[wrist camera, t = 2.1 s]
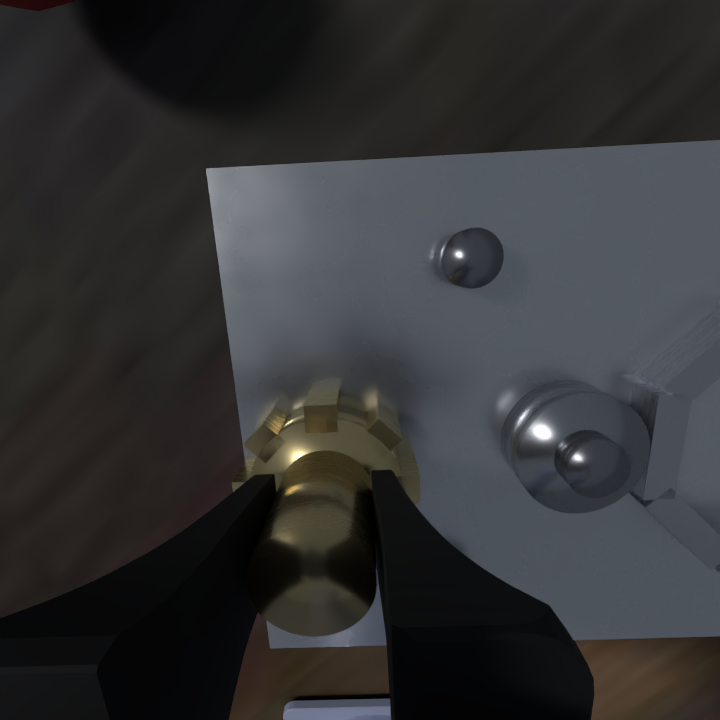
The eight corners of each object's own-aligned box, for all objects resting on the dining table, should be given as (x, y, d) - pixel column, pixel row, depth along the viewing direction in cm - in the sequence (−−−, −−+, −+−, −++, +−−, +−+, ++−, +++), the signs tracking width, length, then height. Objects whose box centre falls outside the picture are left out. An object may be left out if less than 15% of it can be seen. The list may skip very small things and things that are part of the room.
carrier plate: (811, 610, 16) (923, 697, 13) (275, 625, 17) (254, 712, 13) (954, 136, 12) (1176, 87, 8) (218, 176, 12) (166, 144, 9)
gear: (415, 539, 14) (441, 681, 9) (256, 544, 14) (201, 687, 10) (413, 386, 13) (443, 461, 8) (236, 394, 13) (159, 472, 8)
